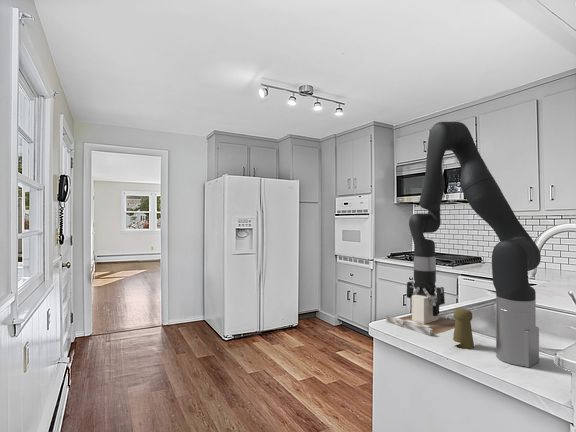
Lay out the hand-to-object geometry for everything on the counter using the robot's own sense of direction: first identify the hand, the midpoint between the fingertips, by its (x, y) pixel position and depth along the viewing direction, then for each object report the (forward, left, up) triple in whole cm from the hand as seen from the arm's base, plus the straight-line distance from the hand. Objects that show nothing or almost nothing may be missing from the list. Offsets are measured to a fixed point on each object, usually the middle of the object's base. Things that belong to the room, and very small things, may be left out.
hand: (424, 313), depth 129 cm
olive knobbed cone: (-19, +8, -4) cm, 21 cm away
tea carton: (0, 0, -3) cm, 3 cm away
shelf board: (-2, +3, -4) cm, 5 cm away
